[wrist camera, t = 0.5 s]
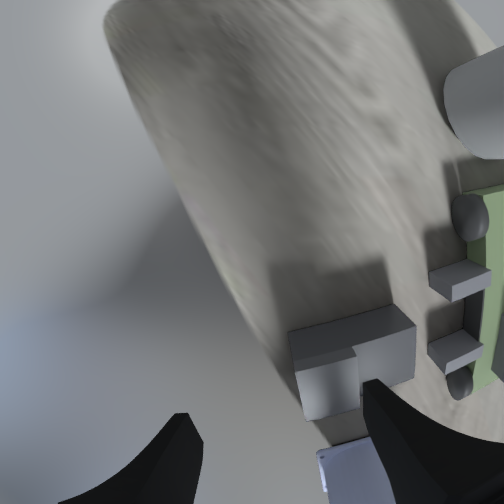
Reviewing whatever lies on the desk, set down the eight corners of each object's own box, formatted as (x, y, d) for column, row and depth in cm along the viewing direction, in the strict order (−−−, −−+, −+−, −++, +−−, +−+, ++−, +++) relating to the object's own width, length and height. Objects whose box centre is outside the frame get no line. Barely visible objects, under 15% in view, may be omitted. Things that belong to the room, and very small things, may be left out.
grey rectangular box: (395, 352, 20) (420, 386, 16) (298, 379, 21) (305, 422, 16) (394, 303, 19) (424, 333, 15) (287, 332, 20) (294, 372, 15)
